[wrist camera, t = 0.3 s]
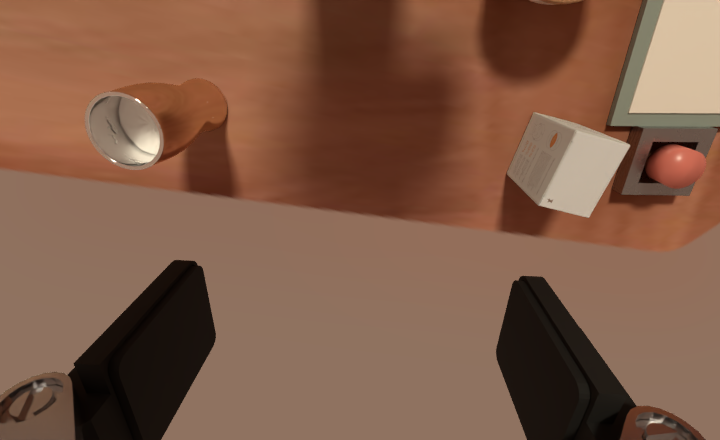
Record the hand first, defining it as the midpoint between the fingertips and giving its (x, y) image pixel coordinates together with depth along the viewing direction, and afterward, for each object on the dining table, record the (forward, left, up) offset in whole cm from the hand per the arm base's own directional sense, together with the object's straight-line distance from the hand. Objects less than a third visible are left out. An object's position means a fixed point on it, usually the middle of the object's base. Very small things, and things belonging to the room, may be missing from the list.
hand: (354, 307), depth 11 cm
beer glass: (-1, -21, -36) cm, 41 cm away
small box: (+4, +20, -36) cm, 41 cm away
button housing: (+5, +34, -36) cm, 50 cm away
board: (-7, +37, -36) cm, 52 cm away
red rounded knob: (+5, +34, -34) cm, 49 cm away
